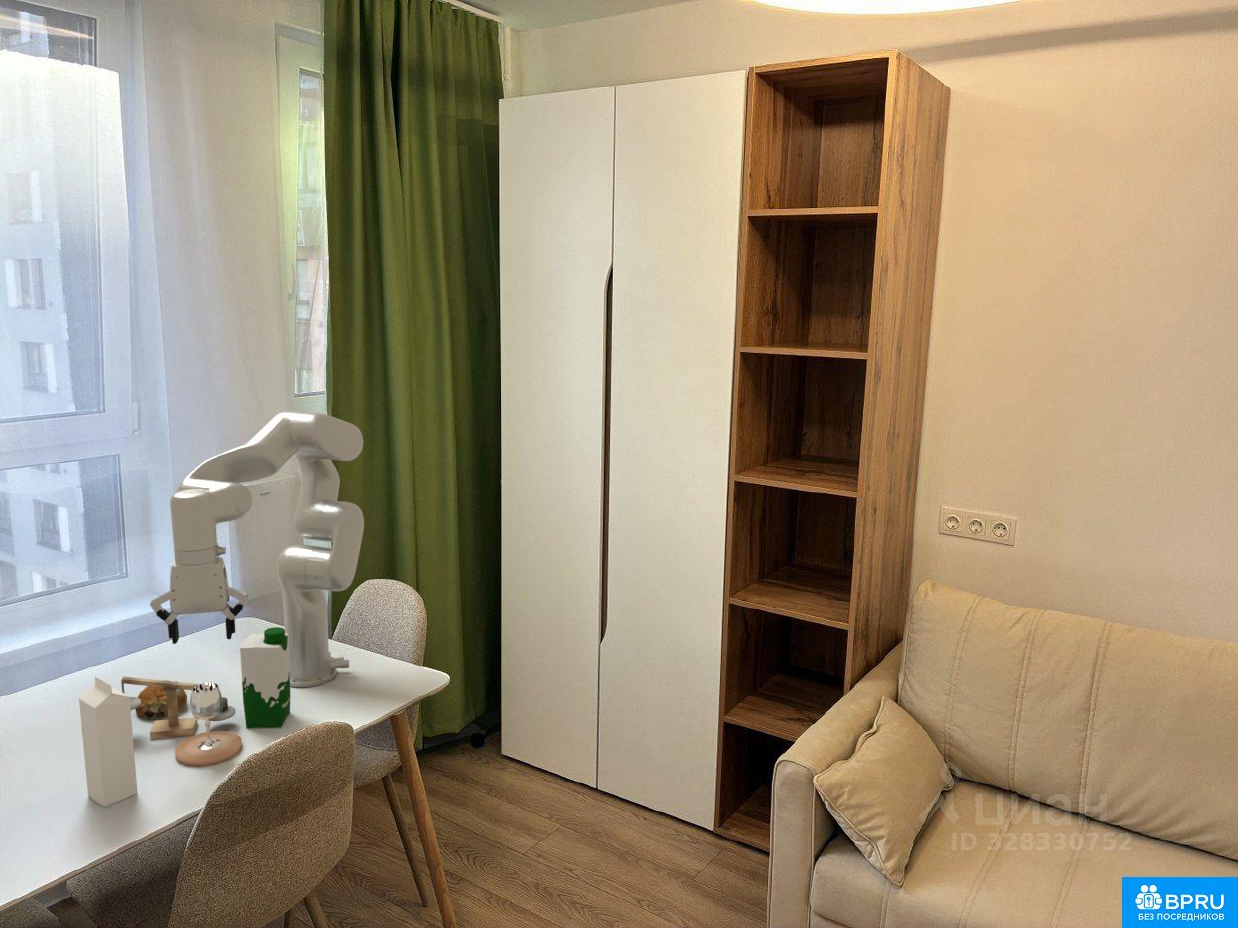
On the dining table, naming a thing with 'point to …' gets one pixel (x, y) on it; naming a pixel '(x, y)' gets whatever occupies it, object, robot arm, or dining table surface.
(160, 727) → the balance
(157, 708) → the bread roll
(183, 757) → the dish
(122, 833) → the dining table surface
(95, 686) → the milk
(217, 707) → the wineglass
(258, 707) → the milk carton
